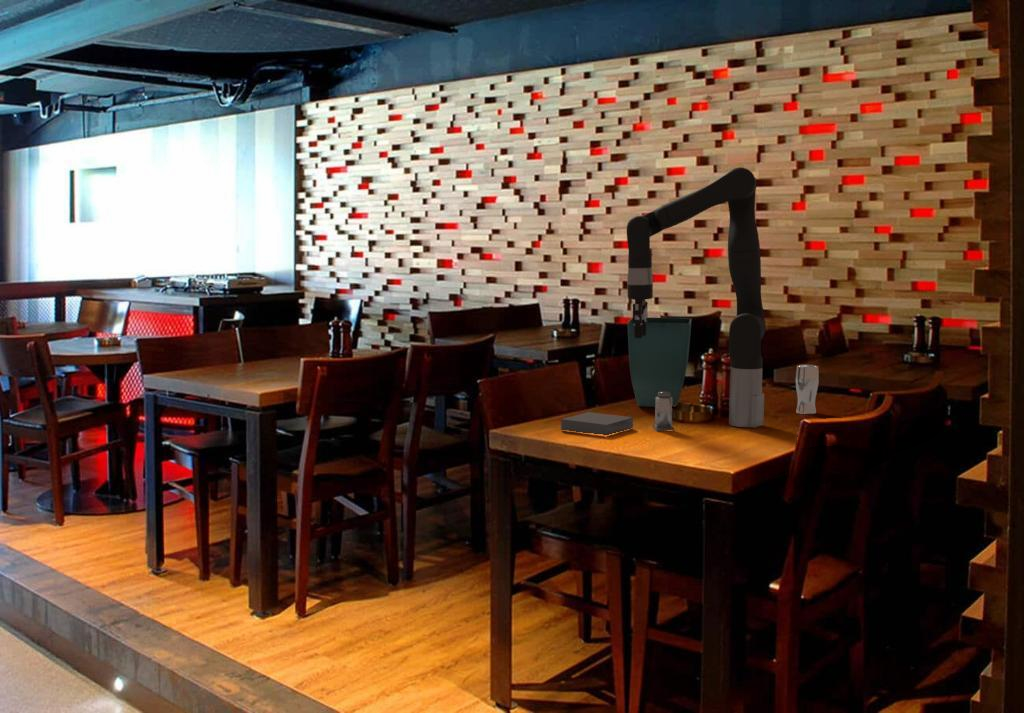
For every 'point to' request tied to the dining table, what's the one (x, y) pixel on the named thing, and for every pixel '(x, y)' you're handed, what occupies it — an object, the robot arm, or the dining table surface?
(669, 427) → the salt shaker
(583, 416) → the slate block
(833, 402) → the dining table surface
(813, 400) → the beer glass
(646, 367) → the flower pot
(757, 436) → the dining table surface
